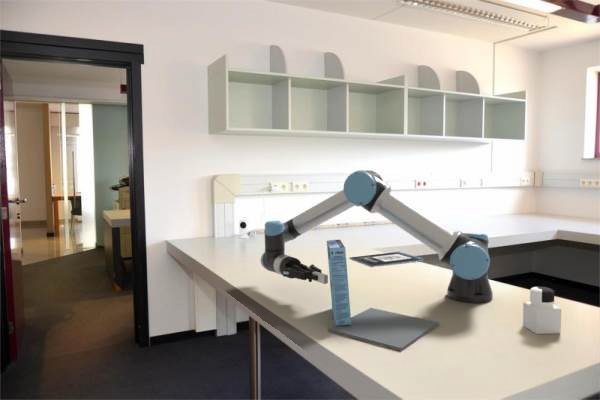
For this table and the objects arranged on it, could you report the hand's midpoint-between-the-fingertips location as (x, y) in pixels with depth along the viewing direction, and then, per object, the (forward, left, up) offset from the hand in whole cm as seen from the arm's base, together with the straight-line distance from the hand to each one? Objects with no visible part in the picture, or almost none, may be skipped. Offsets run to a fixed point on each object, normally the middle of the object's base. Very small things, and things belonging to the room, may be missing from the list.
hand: (325, 279), depth 145 cm
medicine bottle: (-58, -25, -11) cm, 64 cm away
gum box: (-7, +1, -11) cm, 13 cm away
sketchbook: (+24, -85, -12) cm, 89 cm away
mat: (-22, +1, -11) cm, 24 cm away
